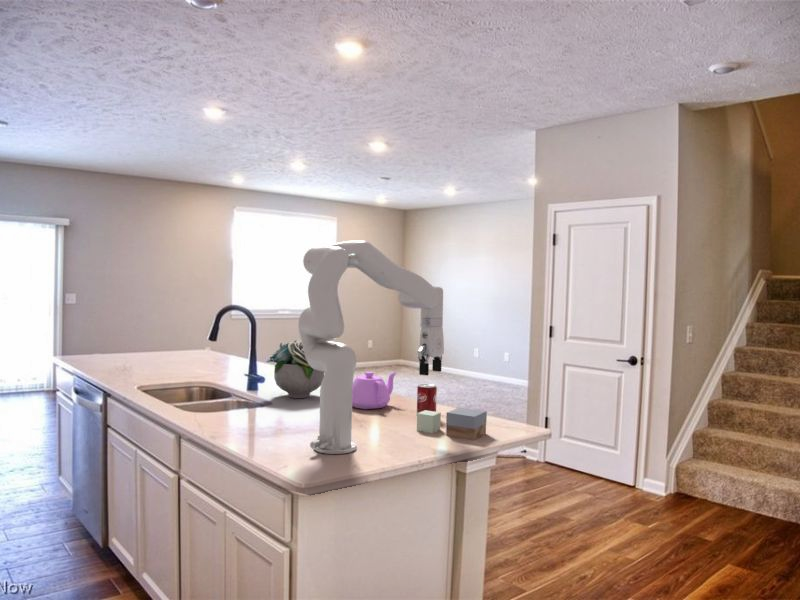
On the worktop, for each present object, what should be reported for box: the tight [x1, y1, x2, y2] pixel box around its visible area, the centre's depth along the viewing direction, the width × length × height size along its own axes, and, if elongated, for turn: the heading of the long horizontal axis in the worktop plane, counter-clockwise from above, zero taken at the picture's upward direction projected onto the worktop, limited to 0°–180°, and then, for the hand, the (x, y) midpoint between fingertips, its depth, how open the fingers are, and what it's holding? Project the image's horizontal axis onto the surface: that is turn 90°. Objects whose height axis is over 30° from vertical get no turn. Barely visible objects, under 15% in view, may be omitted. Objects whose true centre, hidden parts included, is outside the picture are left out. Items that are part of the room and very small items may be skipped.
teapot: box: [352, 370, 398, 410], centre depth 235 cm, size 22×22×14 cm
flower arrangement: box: [266, 339, 325, 399], centre depth 249 cm, size 25×25×24 cm
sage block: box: [416, 410, 442, 434], centre depth 198 cm, size 6×6×6 cm
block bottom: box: [445, 423, 487, 441], centre depth 193 cm, size 10×10×4 cm
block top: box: [445, 407, 488, 429], centre depth 193 cm, size 10×10×4 cm
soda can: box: [416, 383, 438, 414], centre depth 216 cm, size 7×7×12 cm
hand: (430, 373), depth 198 cm, fingers open, 9 cm apart
